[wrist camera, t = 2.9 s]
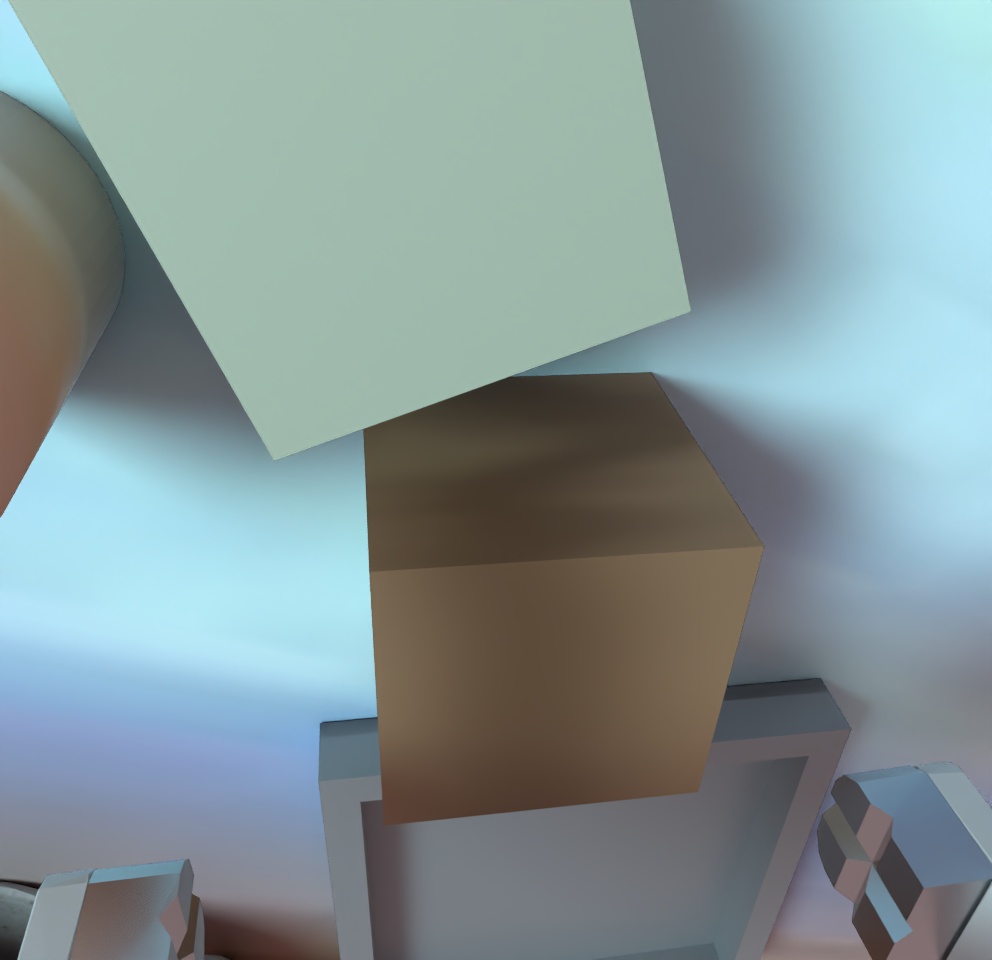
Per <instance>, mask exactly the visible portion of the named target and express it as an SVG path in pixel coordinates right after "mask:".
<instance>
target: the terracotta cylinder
mask: <svg viewBox="0 0 992 960" xmlns="http://www.w3.org/2000/svg"><path fill="white" fill-rule="evenodd" d="M124 276H125V252H124V245H123V238H122V233H121V230H120V226H119V222H118V219H117V215H116V213H115V211H114V208H113V206H112V204H111V201H110V199H109V196H108V194H107V193H106V191H105V189H104V187H103V186H102V184H101V182H100V180H99V179H98V177H97V175H96V174H95V172H94V171H93V170H92V168H91V167H90V166H89V164H88V163H87V161H86V160H85V159H84V157H83V156H82V155H81V154H80V153H79V152H78V151H77V149H76V148H75V147H74V146H73V145H72V144H71V143H70V142H69V141H68V139H67V138H66V137H64V136H63V135H62V134H61V133H60V132H59V131H58V130H57V129H56V128H55V127H53V126H52V125H51V124H50V123H49V122H48V121H47V120H45V119H44V118H42V117H41V116H40V115H38V114H37V113H36V112H34V111H33V110H31V109H30V108H29V107H27V106H26V105H24V104H22V103H21V102H19V101H17V100H16V99H14V98H12V97H10V96H9V95H7V94H5V93H3V92H1V91H0V517H1V516H2V515H3V513H4V511H5V509H6V507H7V506H8V504H9V502H10V500H11V498H12V497H13V495H14V493H15V491H16V489H17V488H18V486H19V484H20V482H21V480H22V479H23V477H24V475H25V473H26V471H27V470H28V468H29V466H30V464H31V462H32V461H33V459H34V457H35V455H36V453H37V452H38V450H39V448H40V446H41V444H42V443H43V441H44V439H45V437H46V435H47V434H48V432H49V430H50V428H51V426H52V425H53V423H54V421H55V419H56V417H57V416H58V414H59V412H60V410H61V408H62V407H63V405H64V403H65V401H66V399H67V398H68V396H69V394H70V392H71V390H72V389H73V387H74V385H75V383H76V381H77V380H78V378H79V376H80V374H81V372H82V371H83V369H84V367H85V365H86V363H87V362H88V360H89V358H90V356H91V354H92V352H93V351H94V349H95V347H96V345H97V343H98V342H99V340H100V338H101V336H102V334H103V333H104V331H105V329H106V327H107V325H108V324H109V322H110V320H111V318H112V316H113V314H114V312H115V310H116V308H117V305H118V302H119V299H120V296H121V293H122V288H123V282H124Z"/></svg>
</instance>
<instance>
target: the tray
mask: <svg viewBox="0 0 992 960" xmlns="http://www.w3.org/2000/svg"><path fill="white" fill-rule="evenodd" d="M850 731H851V727H850V726H849V724H848V722H847V721H846V719H845V717H844V716H843V714H842V713H841V711H840V709H839V708H838V706H837V704H836V703H835V701H834V699H833V698H832V696H831V695H830V693H829V691H828V690H827V688H826V686H825V685H824V683H823V681H822V680H821V679H809V680H798V681H787V682H776V683H765V684H753V685H742V686H731V687H726V691H725V694H724V698H723V702H722V705H721V709H720V713H719V717H718V720H717V724H716V728H715V731H714V735H713V739H712V743H711V746H710V750H709V754H708V758H707V761H706V765H705V769H704V772H703V776H702V780H701V784H700V787H699V791H698V792H695V793H686V794H676V795H667V796H658V797H648V798H639V799H630V800H620V801H611V802H602V803H592V804H583V805H574V806H564V807H555V808H546V809H536V810H527V811H518V812H508V813H499V814H490V815H480V816H471V817H462V818H452V819H443V820H434V821H424V822H415V823H406V824H396V825H387V826H384V822H383V804H382V786H381V769H380V751H379V733H378V718H373V719H362V720H351V721H340V722H328V723H320V743H319V778H318V782H319V790H320V798H321V806H322V815H323V823H324V831H325V839H326V847H327V855H328V863H329V871H330V879H331V887H332V895H333V903H334V911H335V919H336V927H337V935H338V943H339V951H340V959H341V960H760V958H761V956H762V953H763V951H764V948H765V946H766V943H767V941H768V938H769V936H770V933H771V931H772V928H773V926H774V923H775V921H776V918H777V915H778V913H779V910H780V908H781V905H782V903H783V900H784V898H785V895H786V893H787V890H788V888H789V885H790V883H791V880H792V878H793V875H794V873H795V870H796V868H797V865H798V862H799V860H800V857H801V855H802V852H803V850H804V847H805V845H806V842H807V840H808V837H809V835H810V832H811V830H812V827H813V825H814V822H815V820H816V817H817V815H818V812H819V809H820V807H821V804H822V802H823V799H824V797H825V794H826V792H827V789H828V787H829V784H830V782H831V779H832V777H833V774H834V772H835V769H836V767H837V764H838V762H839V759H840V756H841V754H842V751H843V749H844V746H845V744H846V741H847V739H848V736H849V734H850Z"/></svg>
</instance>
